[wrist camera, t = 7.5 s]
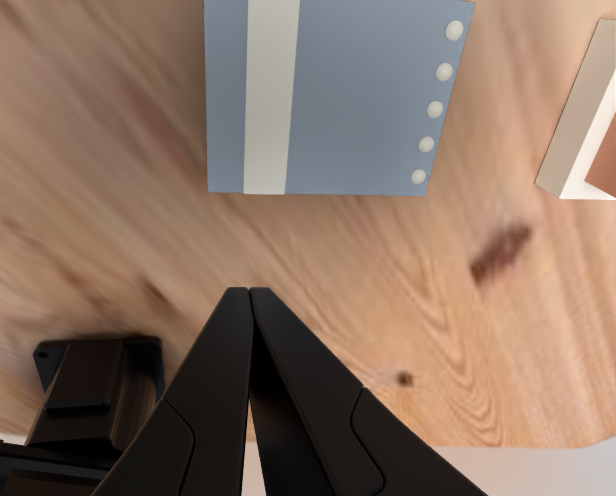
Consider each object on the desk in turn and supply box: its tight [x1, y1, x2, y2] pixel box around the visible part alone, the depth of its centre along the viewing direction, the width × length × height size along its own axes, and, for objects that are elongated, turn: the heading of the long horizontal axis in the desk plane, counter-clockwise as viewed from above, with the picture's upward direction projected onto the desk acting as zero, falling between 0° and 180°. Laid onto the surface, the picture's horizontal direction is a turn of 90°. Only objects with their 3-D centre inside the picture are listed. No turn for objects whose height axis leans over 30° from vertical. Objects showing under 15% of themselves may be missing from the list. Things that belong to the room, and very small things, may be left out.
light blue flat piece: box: [204, 0, 475, 196], centre depth 18 cm, size 8×10×2 cm
